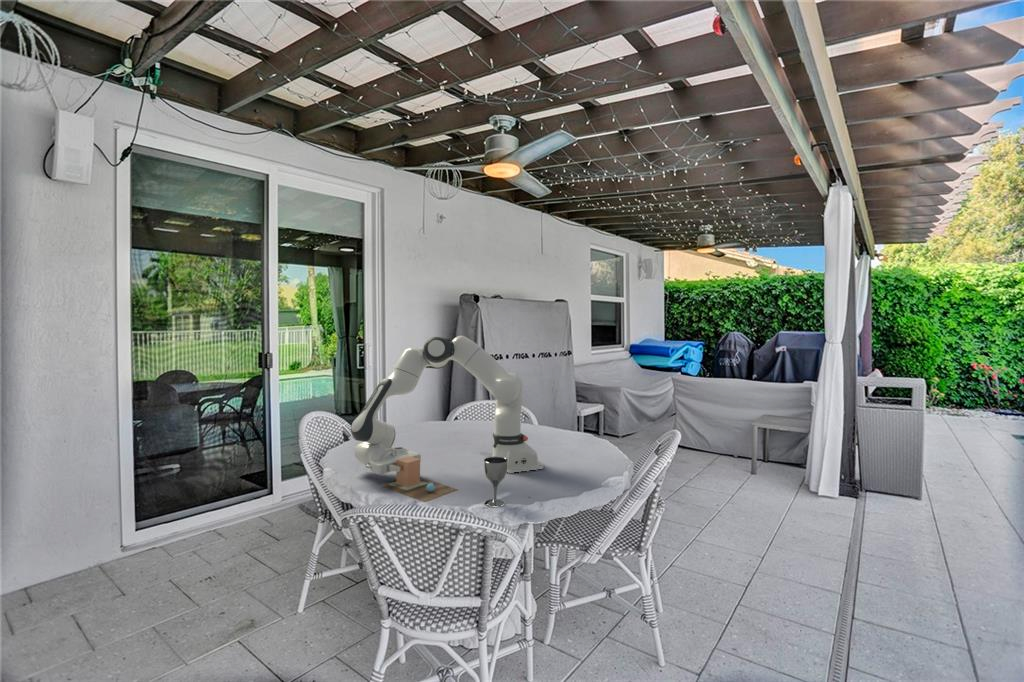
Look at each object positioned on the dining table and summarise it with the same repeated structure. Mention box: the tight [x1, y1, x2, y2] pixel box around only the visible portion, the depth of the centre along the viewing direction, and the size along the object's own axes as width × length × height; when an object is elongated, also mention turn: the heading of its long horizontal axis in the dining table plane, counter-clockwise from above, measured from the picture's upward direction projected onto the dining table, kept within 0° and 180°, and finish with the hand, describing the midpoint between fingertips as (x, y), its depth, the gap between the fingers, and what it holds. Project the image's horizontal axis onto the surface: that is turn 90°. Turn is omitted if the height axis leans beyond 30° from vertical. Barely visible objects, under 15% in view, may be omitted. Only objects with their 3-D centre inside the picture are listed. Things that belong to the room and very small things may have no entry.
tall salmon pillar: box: [395, 456, 421, 487], centre depth 189 cm, size 6×6×9 cm
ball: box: [426, 483, 435, 492], centre depth 182 cm, size 3×3×3 cm
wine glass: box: [483, 456, 508, 506], centre depth 174 cm, size 8×8×15 cm
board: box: [380, 477, 459, 503], centre depth 186 cm, size 24×16×1 cm, turn 52°
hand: (409, 466), depth 189 cm, fingers open, 7 cm apart
